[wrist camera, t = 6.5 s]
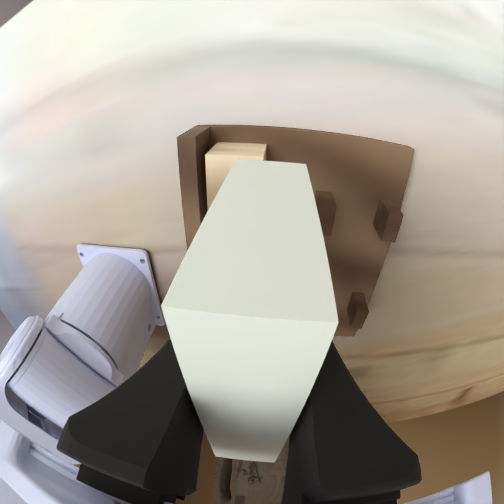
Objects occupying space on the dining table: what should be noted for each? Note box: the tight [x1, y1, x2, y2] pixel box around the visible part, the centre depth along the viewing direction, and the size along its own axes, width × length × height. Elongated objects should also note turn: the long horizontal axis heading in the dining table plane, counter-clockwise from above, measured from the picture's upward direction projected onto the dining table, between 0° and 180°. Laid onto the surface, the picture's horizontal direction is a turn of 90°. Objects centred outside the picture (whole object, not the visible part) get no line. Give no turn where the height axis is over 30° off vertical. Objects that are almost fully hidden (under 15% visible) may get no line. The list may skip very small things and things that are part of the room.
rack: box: [177, 125, 414, 336], centre depth 19 cm, size 18×14×4 cm
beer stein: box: [214, 435, 290, 504], centre depth 25 cm, size 15×11×20 cm
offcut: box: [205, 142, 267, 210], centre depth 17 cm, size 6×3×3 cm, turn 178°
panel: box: [161, 159, 339, 462], centre depth 10 cm, size 10×3×8 cm, turn 178°
